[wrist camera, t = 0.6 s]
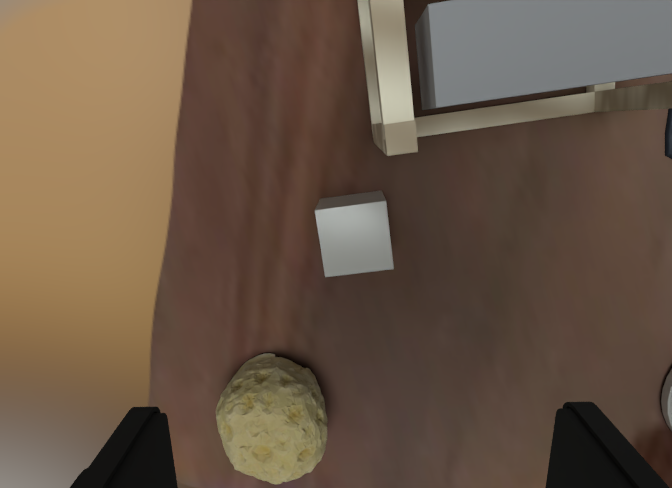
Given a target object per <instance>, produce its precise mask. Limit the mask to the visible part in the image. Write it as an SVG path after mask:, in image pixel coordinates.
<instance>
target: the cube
mask: <svg viewBox="0 0 672 488" xmlns="http://www.w3.org/2000/svg"><path fill="white" fill-rule="evenodd" d="M315 215H316V221H317V228H318V234H319V240H320V247H321V253H322V260H323V266H324V273H325V277H331V276H340V275H348V274H356V273H364V272H373V271H381V270H389V269H394V267H393V258H392V249H391V240H390V231H389V222H388V214H387V205H386V200H385V197H384V195H383V192H382V190H381V191H374V192H366V193H359V194H352V195H344V196H337V197H329V198H322V199H320V200H319V202H318V204H317V206H316V209H315Z"/></svg>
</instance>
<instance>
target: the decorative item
mask: <svg viewBox="0 0 672 488" xmlns="http://www.w3.org/2000/svg"><path fill="white" fill-rule="evenodd" d="M216 419H217V427H218V431H219V433H220V435H221V439H222V442H223V447H224V449H225V452H226V454H227V456H228V457H229V459H230V462H231V463H232V464H233V465H234V468H235V470H239V471H241V472H242V473H244V474H247V475H250V476H255V477H256V478H257V479H259V480H263V481H268V482H270V483H272V484H280V483H282V482H283V481H284V482H288V481H290V480H294V479H297V478H299V477H301V476H302V475H304V474H305V473H310V472H311V471H312V470H313V468H314V467H315V466H316V464H317V463H318V462H320V461H321V458H322V456H323V454H324V451H325V446H326V441H327V422H328V421H327V415H326V410H325V402H324V398H323V396H322V394H321V390H320V387H319V385H318V383H317V380H316V378H315V375H314V374H313V373H312V372H311V370H310V369H309V368H303V367H302V366H300V365H297V364H295V363H294V362H292V361H290V360H288V359H285V358H282V357H275V354H271V353H264V354H261V355H258V356H256V357H254V358H252V359H250V360H248V361H247V362H245V363H244V364H243V365H242V366H241V368H240V369H239V370H238V372H237V373H236V374H235V375H234V376H233V378H232V380H231V381H230V382H229V383H228V385H227V387H226V389H225V390H224V392H223V393H222V394H221V398H220V400H219V402H218V405H217V408H216Z"/></svg>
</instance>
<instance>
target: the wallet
mask: <svg viewBox="0 0 672 488" xmlns="http://www.w3.org/2000/svg"><path fill="white" fill-rule="evenodd" d="M665 156H667V157H669V158H671V159H672V108H669V109H668V116H667V123H666V130H665Z"/></svg>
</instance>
